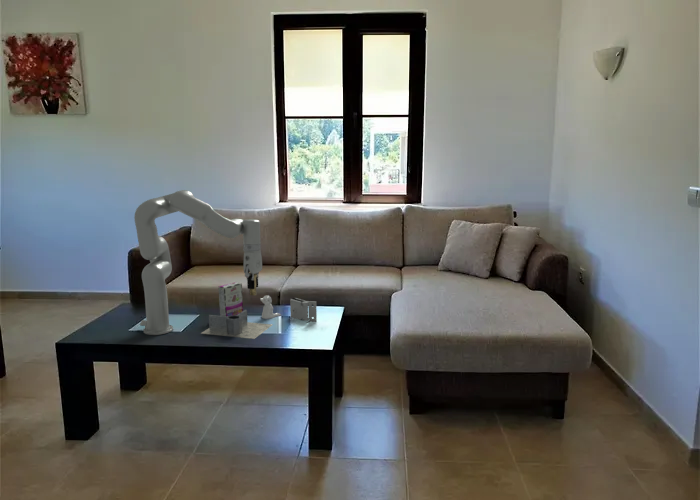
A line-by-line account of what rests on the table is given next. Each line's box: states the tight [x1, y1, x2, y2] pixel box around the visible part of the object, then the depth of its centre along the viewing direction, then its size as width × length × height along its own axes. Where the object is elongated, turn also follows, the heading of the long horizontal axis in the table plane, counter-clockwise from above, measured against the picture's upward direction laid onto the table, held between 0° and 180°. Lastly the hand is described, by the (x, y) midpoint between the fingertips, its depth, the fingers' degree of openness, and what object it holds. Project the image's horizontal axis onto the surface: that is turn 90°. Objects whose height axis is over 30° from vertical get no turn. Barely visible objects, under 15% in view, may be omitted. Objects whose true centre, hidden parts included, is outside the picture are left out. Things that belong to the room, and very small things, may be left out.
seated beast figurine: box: [259, 294, 282, 320], centre depth 262 cm, size 10×9×12 cm
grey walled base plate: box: [200, 309, 274, 340], centre depth 244 cm, size 26×20×8 cm
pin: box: [249, 274, 257, 296], centre depth 242 cm, size 3×3×10 cm
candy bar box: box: [217, 281, 244, 316], centre depth 265 cm, size 11×5×16 cm, turn 143°
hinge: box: [289, 297, 318, 324], centre depth 259 cm, size 14×5×10 cm, turn 59°
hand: (252, 287), depth 242 cm, fingers closed on pin, 3 cm apart
